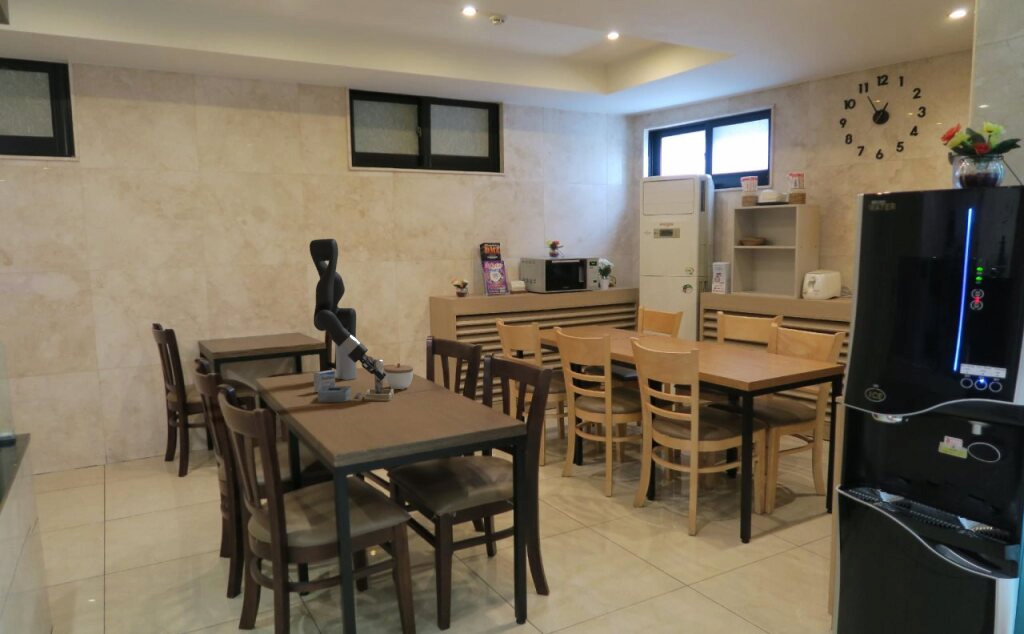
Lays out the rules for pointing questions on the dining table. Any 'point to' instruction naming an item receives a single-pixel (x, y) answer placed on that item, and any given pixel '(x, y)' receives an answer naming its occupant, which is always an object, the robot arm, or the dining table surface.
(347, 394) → the socket block
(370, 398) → the tray
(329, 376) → the medicine box
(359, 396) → the bar
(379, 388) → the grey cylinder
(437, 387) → the dining table surface
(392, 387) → the lidded bowl
